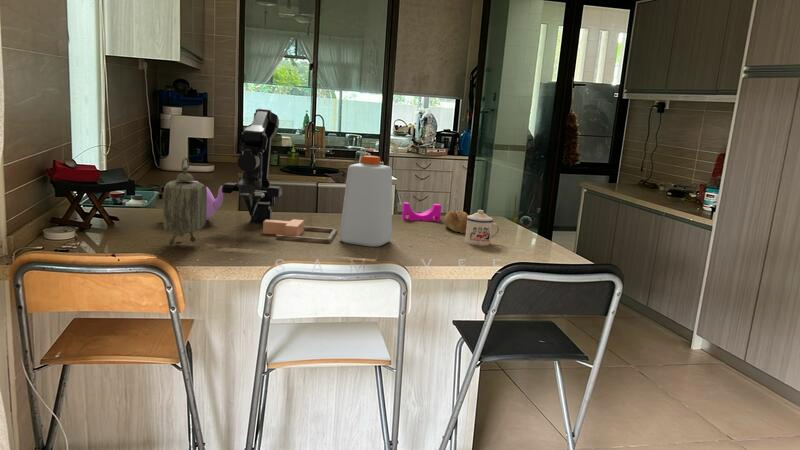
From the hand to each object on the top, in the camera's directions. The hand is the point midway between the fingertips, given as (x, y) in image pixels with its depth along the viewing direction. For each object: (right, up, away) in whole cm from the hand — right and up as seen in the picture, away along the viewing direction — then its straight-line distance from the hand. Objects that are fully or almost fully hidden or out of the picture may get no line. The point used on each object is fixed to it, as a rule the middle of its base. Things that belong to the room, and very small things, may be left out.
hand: (251, 215), depth 199 cm
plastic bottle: (+38, -9, -2) cm, 39 cm away
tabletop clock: (-14, -8, -21) cm, 26 cm away
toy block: (+58, -2, +44) cm, 73 cm away
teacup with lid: (+78, -10, +9) cm, 79 cm away
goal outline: (+19, -7, +1) cm, 20 cm away
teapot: (-23, -2, +12) cm, 26 cm away
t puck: (+10, -6, +1) cm, 12 cm away
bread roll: (+71, -6, +28) cm, 76 cm away
